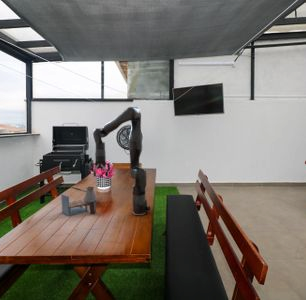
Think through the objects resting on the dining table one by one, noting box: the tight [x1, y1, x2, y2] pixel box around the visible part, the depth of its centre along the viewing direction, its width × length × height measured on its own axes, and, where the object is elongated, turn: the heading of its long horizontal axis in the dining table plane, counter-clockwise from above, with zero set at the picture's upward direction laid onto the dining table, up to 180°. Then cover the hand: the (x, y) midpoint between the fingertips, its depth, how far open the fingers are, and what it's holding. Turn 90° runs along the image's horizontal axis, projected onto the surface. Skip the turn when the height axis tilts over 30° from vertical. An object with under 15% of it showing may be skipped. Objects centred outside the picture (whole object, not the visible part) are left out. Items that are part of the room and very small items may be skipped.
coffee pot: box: [70, 186, 99, 205], centre depth 209 cm, size 21×12×15 cm, turn 113°
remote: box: [89, 200, 97, 215], centre depth 186 cm, size 4×3×9 cm
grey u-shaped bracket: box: [61, 193, 89, 217], centre depth 190 cm, size 15×11×14 cm
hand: (100, 176), depth 193 cm, fingers open, 8 cm apart
